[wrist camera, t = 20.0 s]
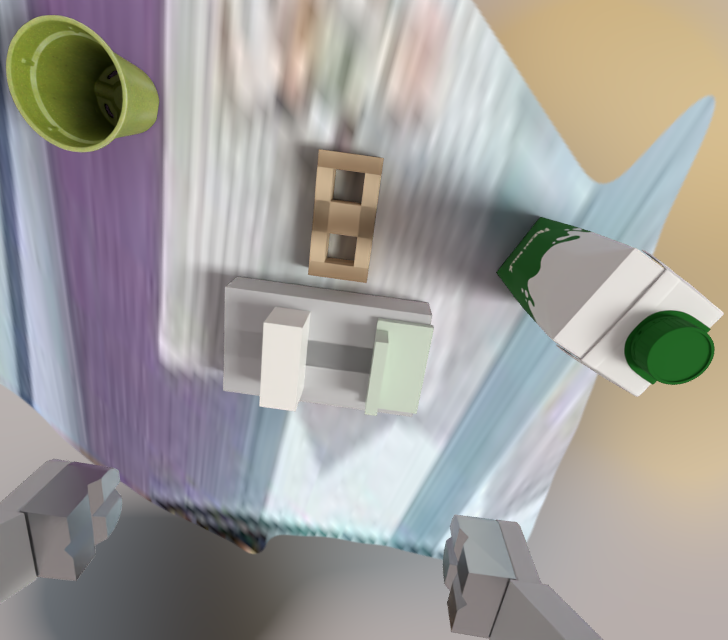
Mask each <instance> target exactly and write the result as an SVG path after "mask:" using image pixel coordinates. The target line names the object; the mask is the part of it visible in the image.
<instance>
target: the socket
mask: <svg viewBox="0 0 728 640" xmlns="http://www.w3.org/2000/svg"><path fill="white" fill-rule="evenodd" d="M275 307H282V308H289V309H297V310H304V311H311V312H310V323H309V334H308V345H307V356H306V367H305V378H304V389H303V391H302V394H301V397H300V400H299V401H302V402H309V403H316V404H323V405H330V406H338V407H345V408H352V409H359V410H365V401H366V394H367V388H368V381H369V374H370V368H371V361H372V355H373V348H374V341H375V335H376V328H377V322H378V318H384V319H391V320H398V321H405V322H412V323H420V324H427V325H431V320H432V313H431V309H430V306H429V303H425V302H418V301H410V300H403V299H396V298H389V297H382V296H374V295H367V294H360V293H353V292H346V291H338V290H331V289H324V288H317V287H310V286H302V285H295V284H288V283H281V282H274V281H266V280H259V279H252V278H245V277H236V278H235V279H234V280H233V281H232V282H230V283H229V284H228V285H227V286H225V314H224V379H223V391H230V392H237V393H244V394H251V395H258V396H260V385H261V366H262V346H263V326H264V321H265V320H266V319H267V317H268V316H269V315H270V313H271V312H272V310H273V309H274V308H275ZM377 412H381V413H388V414H395V415H403V416H410V417H412V415H413V413H408V412H400V411H393V410H386V409H379V408H378V411H377Z"/></svg>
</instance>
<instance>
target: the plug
mask: <svg viewBox="0 0 728 640" xmlns="http://www.w3.org/2000/svg"><path fill="white" fill-rule="evenodd" d="M310 312H311V311H304V310H297V309H289V308H282V307H275V308H274V309H273V310H272V312H271V313H270V315H269V316H268V317H267V319H266V320H265V321H264V326H263V346H262V366H261V385H260V405H259V406H261V407H268V408H275V409H282V410H290V411H296V408H297V405H298V403H299V400H300V397H301V394H302V391H303V389H304V378H305V367H306V356H307V345H308V334H309V323H310Z"/></svg>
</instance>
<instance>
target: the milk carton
mask: <svg viewBox="0 0 728 640" xmlns="http://www.w3.org/2000/svg"><path fill="white" fill-rule="evenodd" d="M642 251H643V252H645V253H646V254H647V255H649V256H650V257H651V258H653V259H654V260H655V261H657V262H658V263H660V264H661V265H662V266H663V267H664V268H665V269H666V270H665V269H664V268H662V267H661V266H660V265H658V264H657V263H656V262H654V261H653V260H652V259H650V258H649V257H648V256H646V255H645V254H644V253H642V252H641V251H639V250H638V249H637V248H633V247H631V246H628V245H626V244H623V243H621V242H618V241H615V240H612V239H610V238H607V237H604V236H602V235H599V234H596V233H593V232H591V231H588V230H584V229H581V228H578V227H574V226H571V225H568V224H564V223H560V222H557V221H553V220H550V219H546V218H543V217H540V218H539V219H538V221H537V222H536V223H535V224H534V226H533V227H532V228H531V229H530V231H529V232H528V233H527V234H526V236H525V237H524V238H523V239H522V241H521V242H520V243H519V245H518V246H517V247H516V248H515V250H514V251H513V252H512V253H511V255H510V256H509V257H508V258H507V260H506V261H505V262H504V263H503V265H502V266H501V267H500V268H499V270H498V271H497V272H496V273H497V274H498V275H499V277H500V278H501V279H502V281H503V282H504V283H505V285H506V286H507V288H508V289H509V290H510V292H511V293H512V294H513V296H514V297H515V298H516V300H517V301H518V302H519V303H520V305H521V306H522V307H523V308H524V310H525V311H526V312H527V313H528V314H529V315H530V316H531V317H532V318H533V320H534V321H535V322H536V323H537V324H538V325H539V326H540V327H541V328H542V330H543V331H544V332H545V333H546V334H547V335H548V336H549V337H550V338H551V339H552V340H553V341H554V342H556V343H557V344H559V345H560V346H561V347H563V348H564V349H566V350H567V351H569V352H570V353H572V354H573V355H575V356H576V357H578V358H579V359H578V358H576V357H574V356H573V355H571V354H570V353H569V352H567V351H566V350H564V349H563V348H561V347H560V346H558V345H556V346H557V347H559V348H560V349H561V350H562V351H564V352H565V353H566V354H568V355H569V356H571V357H572V358H574V359H575V360H577V361H579V362H580V363H582V364H584V365H585V366H587V367H588V368H590V369H591V370H593V371H594V372H596V373H597V374H599V375H601V376H602V377H604V378H606V379H607V380H609V381H611V382H612V383H614V384H616V385H617V386H619V387H621V388H622V389H624V390H626V391H628V392H629V393H631V394H633V395H635V396H639V395H641V394H642V393H643V392H644V390H645V389H646V388H647V387H648V386H649V385H650V384H654V383H655V382H656V381H659V382H661V383H664V384H671V385H675V384H676V385H677V384H683V383H686V382H689V381H691V380H693V379H695V378H697V377H698V376H700V375H701V374H702V373H703V372H704V371H705V370H706V369H707V368H708V366H709V365H710V363H711V361H712V359H713V356H714V343H713V341H712V339H711V337H710V336H709V335H708V334H707V332H709V331H710V327H711V326H712V325H713V324H714V323H715V322H716V321H718V319H720V317H722V315H723V312H722V311H721V310H720V309H719V308H717V307H716V306H715V305H713V304H712V303H711V302H710V301H709V300H708V299H707V298H706V297H704V296H703V295H702V294H701V293H700V292H699V291H697V290H696V289H695V288H694V287H692V286H691V285H690V284H689V283H688V282H686V281H685V280H684V279H682V278H681V277H680V276H678V275H677V274H676V273H675V272H673V271H672V270H671V269H670V268H668V267H667V266H666V265H665V264H664V263H662V262H661V261H660V260H658V259H657V258H655V257H654V256H653V255H651V254H650V253H648V252H646V251H644V250H642Z"/></svg>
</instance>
